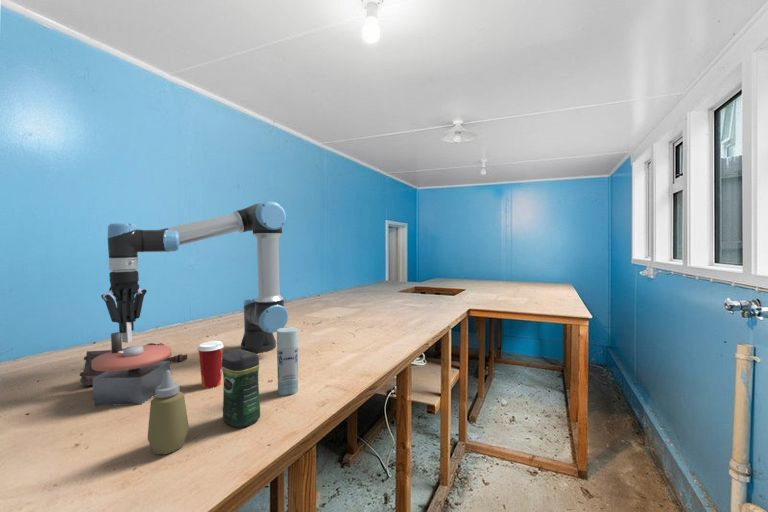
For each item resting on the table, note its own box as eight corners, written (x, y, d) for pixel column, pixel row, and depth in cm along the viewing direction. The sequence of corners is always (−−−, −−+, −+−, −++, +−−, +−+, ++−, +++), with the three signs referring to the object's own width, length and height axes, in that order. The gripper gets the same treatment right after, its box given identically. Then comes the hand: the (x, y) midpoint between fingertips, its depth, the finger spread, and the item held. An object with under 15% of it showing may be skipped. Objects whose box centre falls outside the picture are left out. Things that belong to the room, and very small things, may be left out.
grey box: (170, 384, 113) (170, 360, 113) (142, 404, 99) (141, 377, 99) (128, 385, 113) (127, 361, 112) (93, 404, 99) (92, 378, 98)
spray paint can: (276, 389, 109) (275, 328, 108) (296, 385, 111) (296, 326, 111) (278, 397, 103) (277, 333, 102) (300, 393, 105) (299, 330, 105)
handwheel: (185, 361, 111) (185, 330, 111) (120, 385, 93) (119, 348, 92) (144, 354, 118) (143, 325, 118) (75, 375, 100) (74, 341, 99)
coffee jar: (265, 419, 90) (264, 350, 90) (237, 432, 84) (236, 359, 83) (245, 408, 96) (244, 344, 95) (218, 420, 90) (216, 351, 89)
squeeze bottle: (160, 438, 81) (158, 365, 81) (195, 436, 82) (193, 364, 81) (139, 459, 73) (137, 378, 73) (178, 457, 74) (176, 377, 73)
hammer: (77, 381, 112) (84, 350, 114) (180, 370, 139) (184, 346, 140) (83, 386, 108) (90, 354, 110) (188, 374, 135) (192, 349, 136)
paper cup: (229, 382, 115) (228, 341, 114) (211, 391, 107) (210, 348, 107) (211, 379, 117) (210, 339, 117) (192, 388, 110) (191, 345, 110)
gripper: (110, 272, 102) (113, 348, 103) (151, 269, 115) (154, 337, 116) (94, 272, 105) (97, 346, 106) (136, 268, 117) (138, 335, 118)
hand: (127, 341), depth 111 cm, fingers closed
